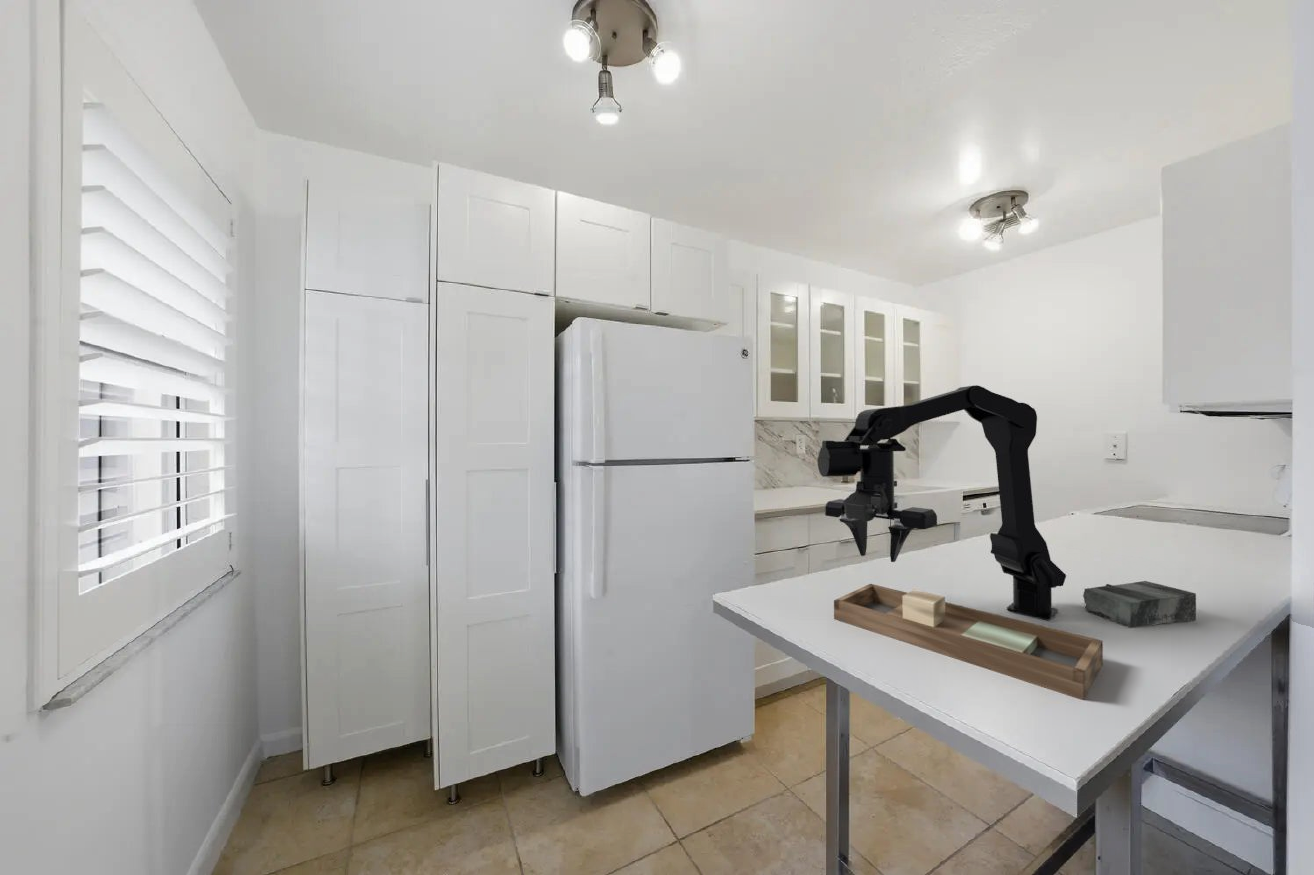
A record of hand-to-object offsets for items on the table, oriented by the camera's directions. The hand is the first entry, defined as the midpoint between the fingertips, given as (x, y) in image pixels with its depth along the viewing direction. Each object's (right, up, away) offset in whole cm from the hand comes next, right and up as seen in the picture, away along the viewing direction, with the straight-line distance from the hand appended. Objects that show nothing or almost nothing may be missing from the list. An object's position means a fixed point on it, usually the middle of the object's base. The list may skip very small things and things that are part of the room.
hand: (877, 558), depth 88 cm
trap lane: (+8, -11, -10) cm, 17 cm away
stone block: (+47, -11, -1) cm, 48 cm away
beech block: (+5, -9, -6) cm, 12 cm away
